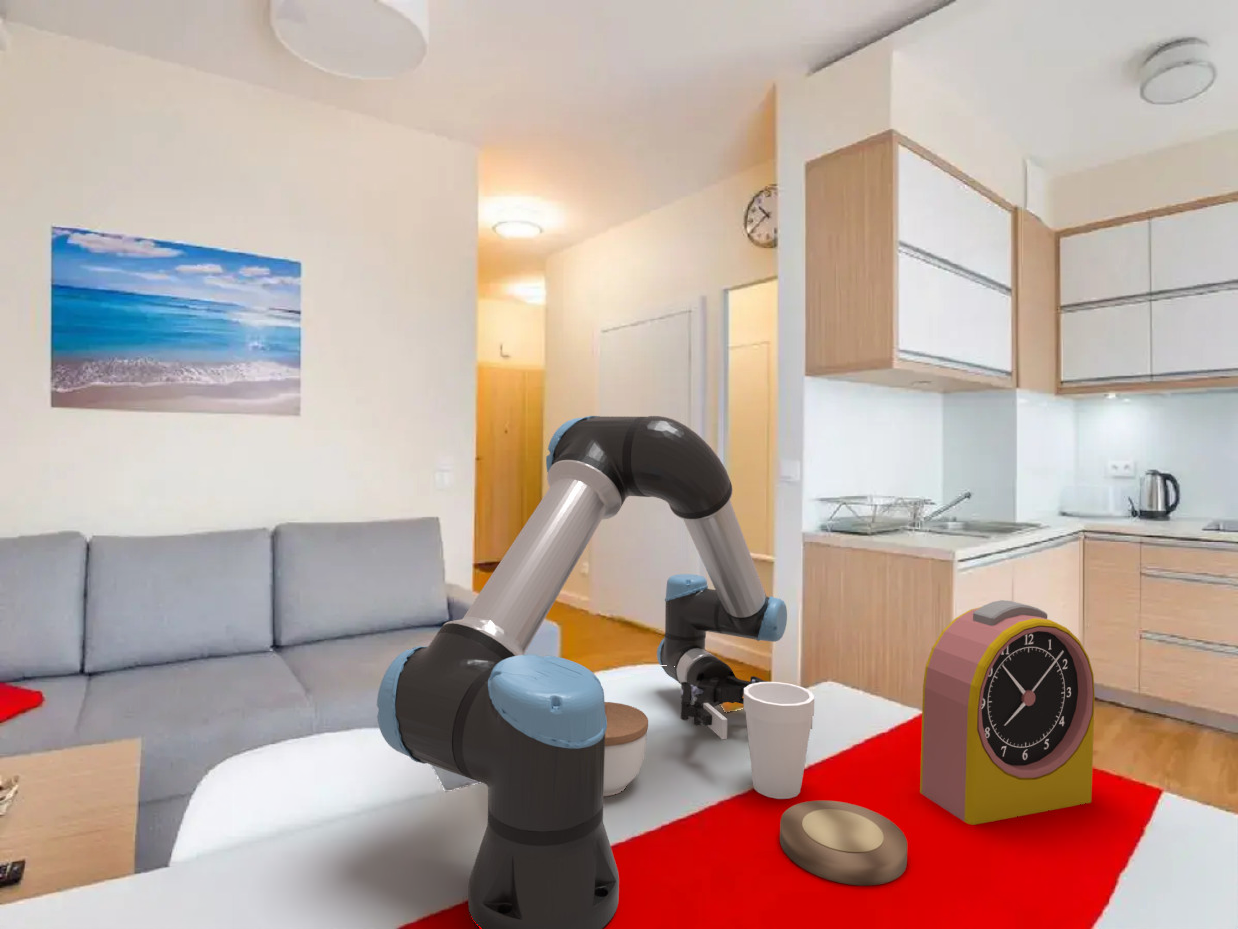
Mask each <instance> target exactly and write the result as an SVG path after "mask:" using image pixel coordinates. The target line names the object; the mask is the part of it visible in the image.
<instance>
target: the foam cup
mask: <svg viewBox="0 0 1238 929" xmlns="http://www.w3.org/2000/svg"><path fill="white" fill-rule="evenodd" d="M743 698H744V704H743V711H744V712H745V719H746V730H747V738H748V748H749V757H750V765H751V766H750V767H751V776H752V783H753V790H755V791H756V792H757V793H759V794H761V795H763V796H765V797H767V798H773V799H777V800H785V799H792V798H795V797H798V795H799V794H800V793H801V788H802V785H803V784H802V783H803V778H804V771H805V764H806V757H807V752H808V746H809V745H808V744H809V739H810V733H811V729H810V728H811V721H812V722H813V719H812V717H815V696H814V693H813V692H812V691H811V690H808V689H807V688H805V687H803V686H800V685H799V686H798V685H796V684H792V683H787V682H779V681H767V682H759V683H754V684H750V685H748V686H747V687H745V688H744V695H743Z"/></svg>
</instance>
